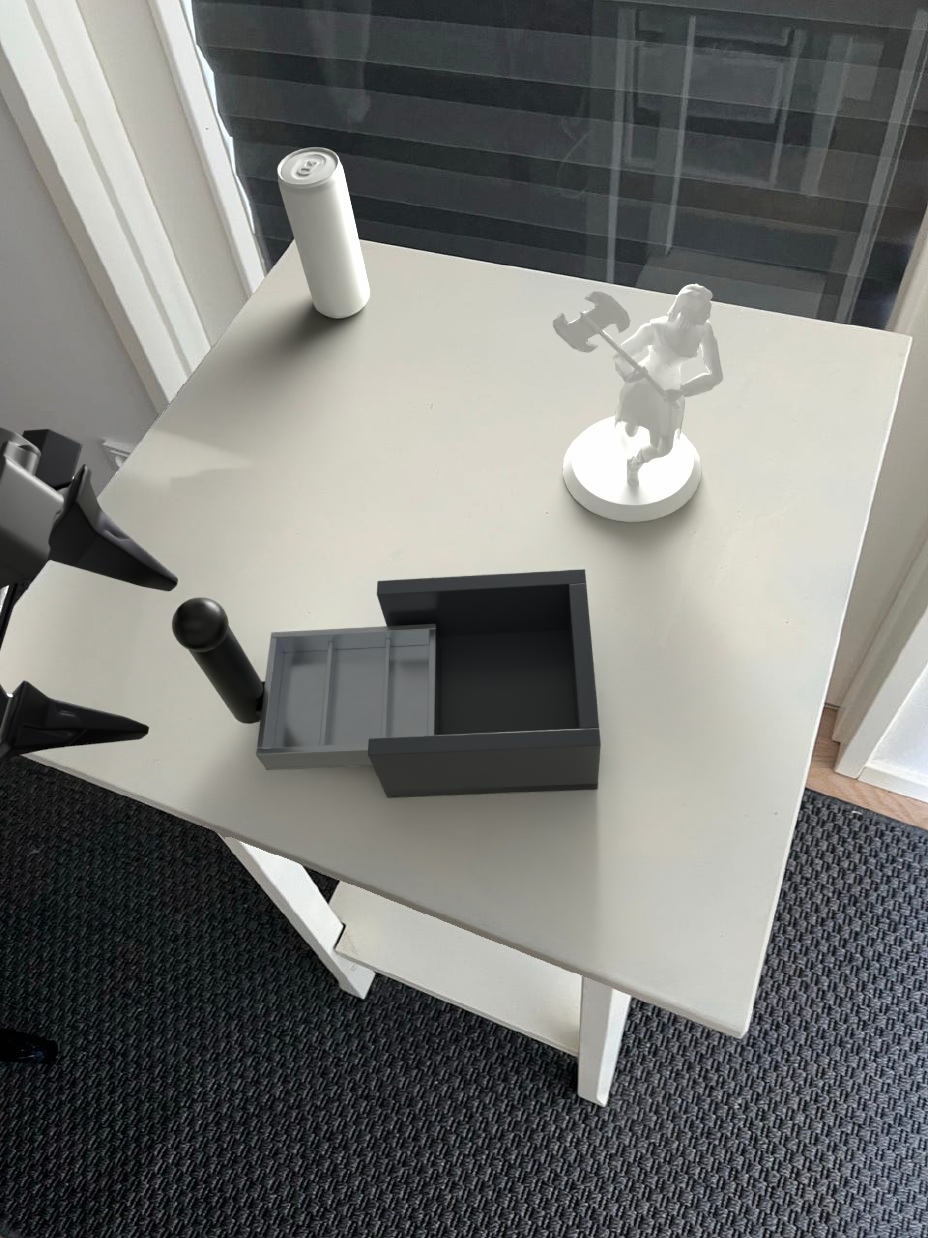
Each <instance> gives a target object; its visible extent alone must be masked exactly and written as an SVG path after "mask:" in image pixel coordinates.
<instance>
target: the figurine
mask: <svg viewBox="0 0 928 1238" xmlns="http://www.w3.org/2000/svg"><path fill="white" fill-rule="evenodd" d="M713 296H714V294H713V292H712V291H711V290H710V289H707V288H706V287H705V286H702V285H699V284H698V283H697V282H695V284H688V285H685V286H683V287H682V288H681V290H680V291H679V293H678V294H677V296H676V298H675V300H674V301H673V304H672V305H671V306H670V308H669V309H668V312H667V313H666V315H668V316H665V315H663V316H661V317H659V318H654V319H650V322H649V323H644V324H642V325H641V326H639V328H638V330H636V332H635V333H634V335H632V336H631V337H629V338H628V339H626V340H625V341H623V342H622V343H621V344H618V343H617V341H615V340H614V339H613V338H612V337H611V336H610V335H609V334H608V333H607V332H605V330H604V329H606V328H608V327H609V326H610V325H615V327H616V330H617V332H618V333H619V334H620V333H622V332H624V331H626V330H627V329H629V327H630V325H631V319H630V316H629V313H628V311H627V310H626V308H624V307H623V306H622V305H621V304H620V303H619V302H618V301H617V300H616V299H615V298H614V297H613V296H612V295H610V294H608V293H606V292H603V291H597V290H595V291H591V292H590V293H588V294H587V295H586V296H584V298H583V299H584V300H586V301H588V302H590V303H593V304H594V306H593V307H592V308H590V309H588V310H587V311H583V312H582V311H579V314H580V315H579V316H578V317H577V318H575V319H573V321H568V320H567V317H566V315H565V313H564V312H561V313H560V314H558V315H556V316H555V317H554V318H553V320H552V327H553V329H554V331H555V334H556V335H557V336H558V337H560V339H562V340H563V341H564V342H565V343H566V344H567V345H568V346H569V347H570V348H572V349H573V350H575V351H578V352H581V353H592V352H594V351H595V350H596V349H597V348H598V347H599V345H597V344H594V343H592V342H591V341H589V339H590V338H592V337H594V336H596V335H598V336H599V337H601V338H602V339H603V340H604V341H605V342H606V343H607V344H608V345H609V346H610V347H611V348H612V349H613V350H614V353H613V356H612V361H613V367H614V369H615V371H616V373H617V374H618V375H619V376H620V378H621V379H622V381H623V382H624V383H623V384H622V386H621V387H620V390H619V392H618V401H617V405H616V408H615V412H614V416H610V417H607V418H604V419H602V420H599V421H597V422H595V423H594V424H593V425H591V426H589V427H588V428H586V430H584V431H583V432H582V433H581V434H580V435H579V436H578V437H576V439H574V440H573V441H572V443H571V444H570V446H569V447H568V449H567V450H566V453H565V456H564V458H563V464H562V476H563V481H564V483H565V485H566V489H567V490H568V492H569V494H570V495H571V496H572V497H573V498H574V500H576V501H577V503H579V505H581V506H582V507H583V508H585V509H586V510H588V511H589V512H591V513H593V514H595V515H598V516H600V517H603V518H604V519H608V520H613V521H617V522H626V523H638V522H640V523H641V522H648V521H653V520H656V519H661V518H663V517H667V516H668V515H670V514H672V513H674V512H676V511H677V510H679V509H680V508H682V507H684V506H685V505H686V504H687V503H688V502H689V500H691V499H692V497H693V496H694V495H695V493H696V491H697V490H698V488H699V485H700V482H701V478H702V463H701V458H700V456H699V454H698V453H699V452H698V451H697V450H696V447H695V446H694V445H693V444H692V442H691V441H690V440H689V439H688V438H687V436H686V435H685V434H684V433H683V432H682V428H683V423H684V422H683V421H684V416H685V411H686V410H685V409H686V398H691V397H693V396H698V395H700V394H704V393H707V392H710V391H712V390H713V389H714V388H715V387H716V386H718V385H720V384H721V383H722V382H723V380H724V373H723V369H722V364H721V355H720V351H719V344H718V340H717V338H716V336H715V334H714V329H713V325H712V323H711V322H710V321H709V320H708V319H710V318H711V311H712V306H713V303H712V301H711V300H712V299H713ZM699 347H700V349H701V352H702V358H701V359H702V363H703V364H704V366H705V368H706V370H707V372H708V373H706V372H703V373H701V374H699V375H697V376H695V377H694V378H692V379H689V381H687V382H684V383H683V384H682V383H681V380H682V379H681V378H682V375H681V366H682V365H683V364H685V363H686V362H688V361H692V360H693V359H694V358H696V357H698V355H699V352H698V351H699ZM646 348H647V351H648V356H646V357H645V358H644V359H643V360H640V361H639V362H637V361H636V360H635V359H636V357H638V356H639V354H640V353H641V352H642V351H643V350H644V349H646Z"/></svg>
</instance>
